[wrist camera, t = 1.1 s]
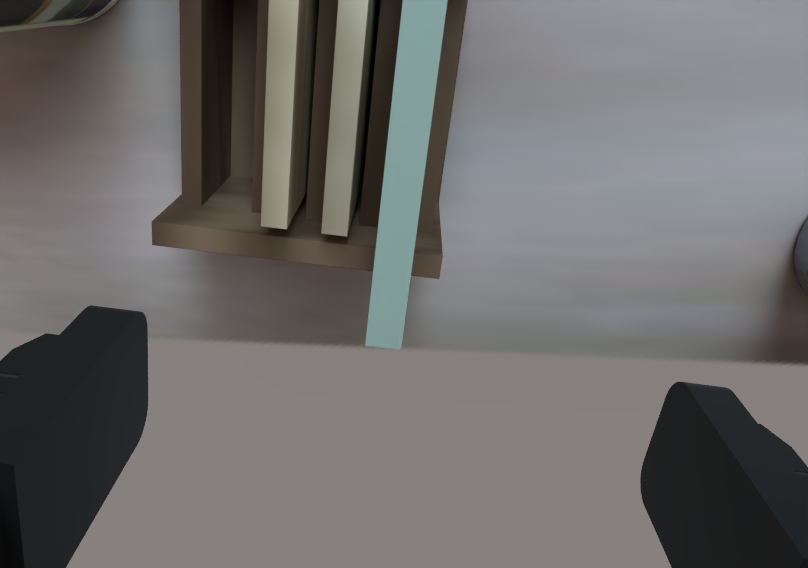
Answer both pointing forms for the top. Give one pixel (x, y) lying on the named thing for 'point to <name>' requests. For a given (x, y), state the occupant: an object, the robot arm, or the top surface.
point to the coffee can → (49, 13)
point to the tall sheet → (404, 167)
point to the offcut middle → (349, 111)
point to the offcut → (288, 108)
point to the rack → (244, 140)
